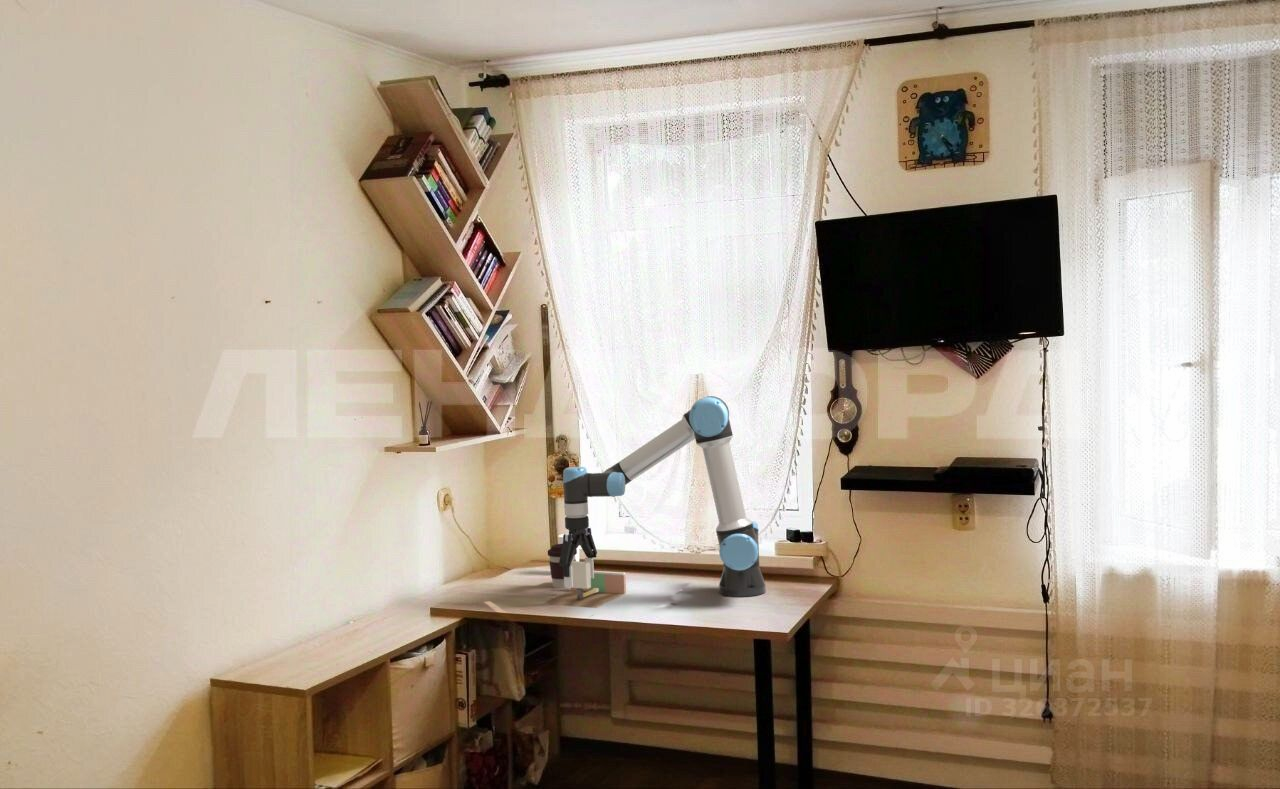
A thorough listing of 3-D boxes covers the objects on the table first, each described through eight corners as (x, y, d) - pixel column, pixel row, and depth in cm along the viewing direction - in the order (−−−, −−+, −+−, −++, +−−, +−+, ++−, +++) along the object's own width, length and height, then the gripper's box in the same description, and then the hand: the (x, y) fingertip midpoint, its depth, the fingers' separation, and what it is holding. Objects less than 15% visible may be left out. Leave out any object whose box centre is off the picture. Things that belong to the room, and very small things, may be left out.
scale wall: (626, 592, 330) (625, 572, 330) (624, 593, 329) (623, 573, 328) (572, 589, 339) (571, 569, 338) (570, 590, 337) (569, 570, 337)
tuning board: (626, 596, 330) (626, 592, 330) (596, 611, 311) (595, 607, 311) (573, 592, 339) (573, 589, 339) (540, 607, 320) (540, 603, 320)
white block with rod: (587, 601, 320) (585, 563, 320) (569, 599, 324) (567, 562, 323) (606, 593, 330) (604, 557, 329) (588, 592, 333) (586, 555, 333)
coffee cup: (560, 593, 338) (558, 548, 338) (543, 589, 346) (541, 545, 345) (584, 588, 345) (582, 544, 344) (566, 584, 352) (564, 541, 352)
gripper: (585, 509, 335) (588, 573, 336) (545, 521, 313) (548, 590, 313) (605, 510, 332) (608, 575, 332) (566, 522, 309) (570, 591, 310)
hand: (579, 582), depth 323 cm, fingers open, 13 cm apart
